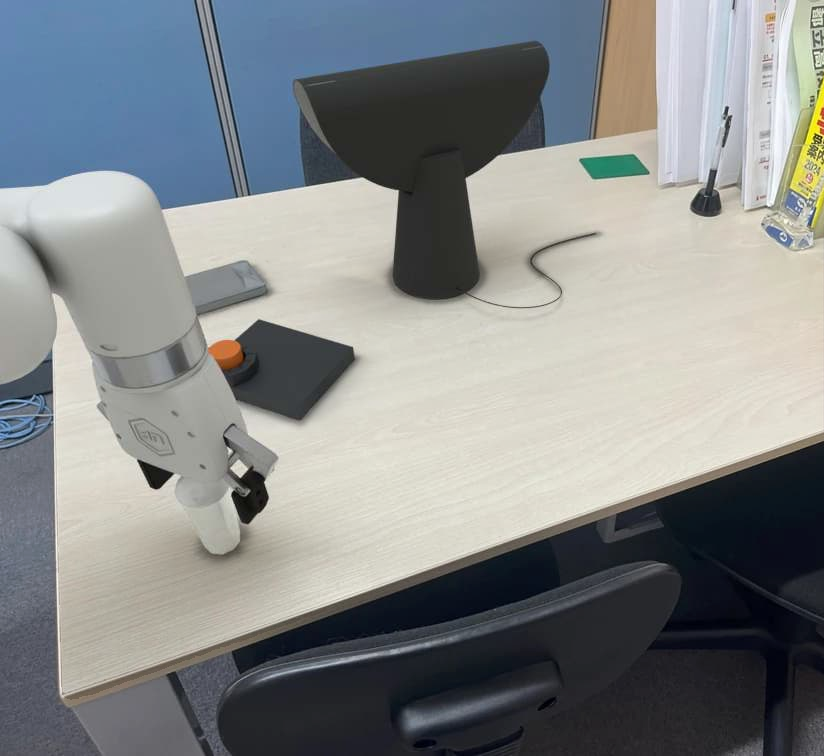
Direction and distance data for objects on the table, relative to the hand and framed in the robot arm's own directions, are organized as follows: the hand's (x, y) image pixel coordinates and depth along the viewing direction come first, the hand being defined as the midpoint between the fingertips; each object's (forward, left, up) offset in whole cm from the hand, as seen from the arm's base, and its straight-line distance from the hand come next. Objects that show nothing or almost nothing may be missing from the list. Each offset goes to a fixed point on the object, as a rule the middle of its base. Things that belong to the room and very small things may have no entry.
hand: (210, 494), depth 63 cm
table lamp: (+3, +54, -7) cm, 54 cm away
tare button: (-14, +19, -4) cm, 24 cm away
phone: (-29, +32, -7) cm, 44 cm away
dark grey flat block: (-10, +23, -7) cm, 26 cm away
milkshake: (0, 0, -7) cm, 7 cm away
